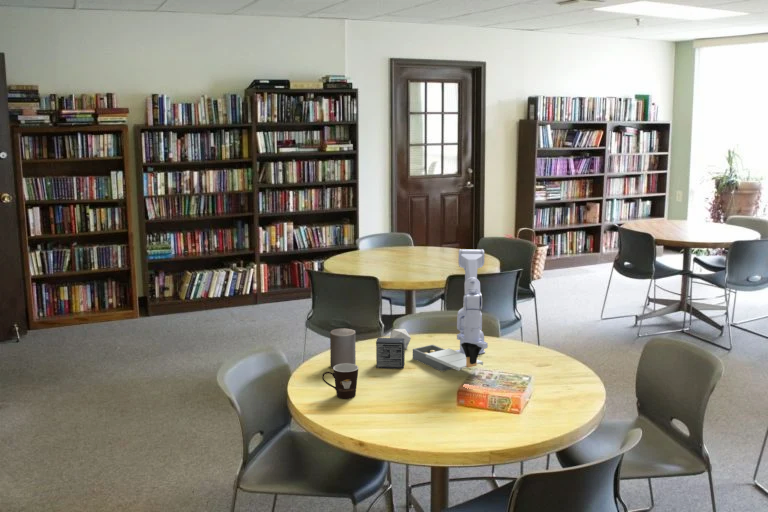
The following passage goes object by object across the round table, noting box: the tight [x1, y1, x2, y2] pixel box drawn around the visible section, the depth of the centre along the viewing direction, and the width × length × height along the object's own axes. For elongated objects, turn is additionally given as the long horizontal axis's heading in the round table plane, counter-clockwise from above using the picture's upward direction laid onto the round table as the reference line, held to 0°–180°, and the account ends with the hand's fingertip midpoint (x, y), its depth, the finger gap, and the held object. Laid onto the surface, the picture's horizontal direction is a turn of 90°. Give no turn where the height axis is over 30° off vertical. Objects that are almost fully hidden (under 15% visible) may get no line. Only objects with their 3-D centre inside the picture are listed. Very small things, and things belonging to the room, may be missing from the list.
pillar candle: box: [329, 327, 357, 370], centre depth 286 cm, size 10×10×15 cm
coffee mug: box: [321, 364, 359, 400], centre depth 257 cm, size 12×9×10 cm
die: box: [389, 328, 412, 350], centre depth 309 cm, size 8×9×10 cm
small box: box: [375, 337, 406, 370], centre depth 286 cm, size 11×6×10 cm, turn 84°
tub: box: [412, 344, 454, 372], centre depth 291 cm, size 10×18×4 cm, turn 35°
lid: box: [426, 348, 484, 371], centre depth 282 cm, size 12×20×4 cm, turn 35°
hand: (471, 362), depth 274 cm, fingers closed on lid
